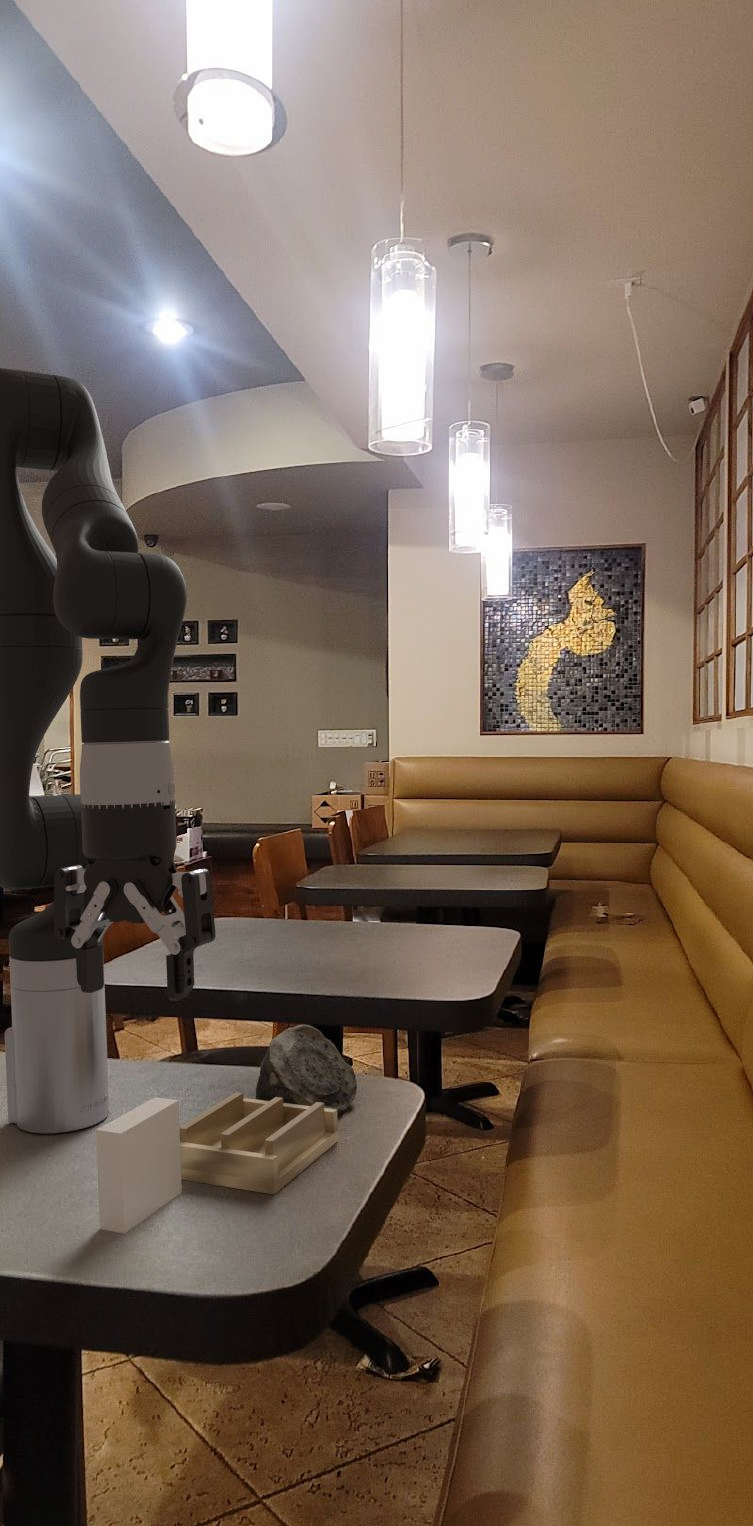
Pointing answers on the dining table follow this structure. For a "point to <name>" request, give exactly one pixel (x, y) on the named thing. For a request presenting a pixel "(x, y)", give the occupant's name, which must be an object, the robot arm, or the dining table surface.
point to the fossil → (306, 1071)
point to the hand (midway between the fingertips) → (135, 994)
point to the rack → (255, 1142)
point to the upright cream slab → (138, 1164)
